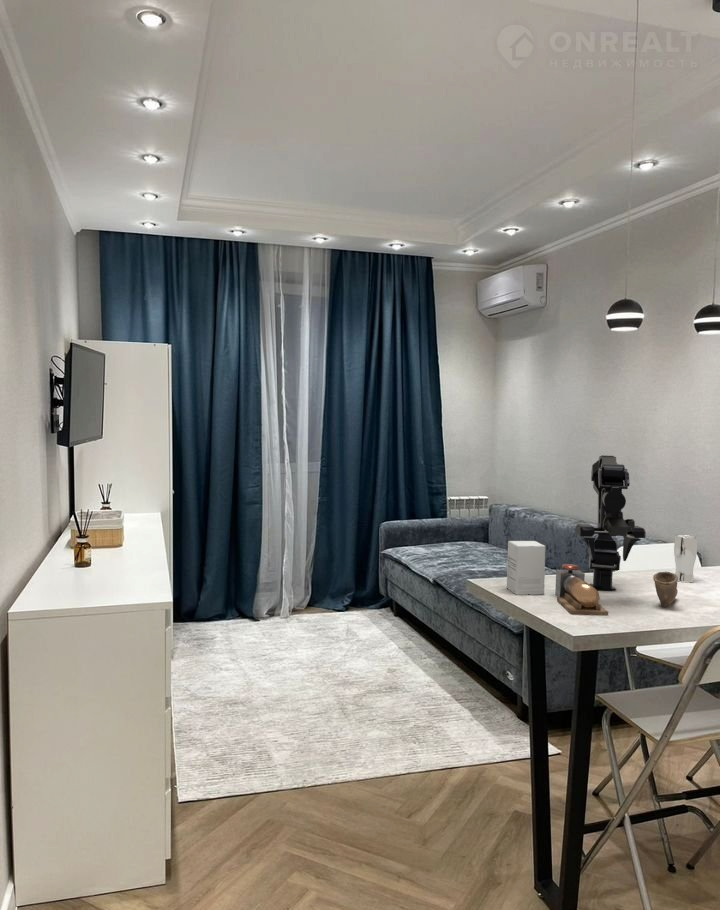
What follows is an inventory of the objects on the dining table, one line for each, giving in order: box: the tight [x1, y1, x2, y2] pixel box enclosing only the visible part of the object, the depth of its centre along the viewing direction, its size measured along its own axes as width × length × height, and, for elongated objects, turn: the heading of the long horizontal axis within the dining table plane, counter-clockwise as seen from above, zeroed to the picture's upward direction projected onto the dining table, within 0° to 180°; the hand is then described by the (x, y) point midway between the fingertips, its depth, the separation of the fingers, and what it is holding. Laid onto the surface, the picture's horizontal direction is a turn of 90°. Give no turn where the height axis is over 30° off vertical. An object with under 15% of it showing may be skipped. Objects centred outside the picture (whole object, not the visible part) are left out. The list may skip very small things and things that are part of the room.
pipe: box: [652, 571, 678, 608], centre depth 202 cm, size 6×17×10 cm, turn 146°
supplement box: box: [506, 540, 546, 596], centre depth 212 cm, size 9×9×15 cm
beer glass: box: [673, 534, 698, 584], centre depth 233 cm, size 7×7×15 cm
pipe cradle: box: [556, 593, 609, 616], centre depth 195 cm, size 14×10×3 cm
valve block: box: [554, 563, 586, 598], centre depth 206 cm, size 7×7×9 cm
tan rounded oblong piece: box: [566, 577, 600, 607], centre depth 195 cm, size 12×6×6 cm, turn 179°
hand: (608, 560), depth 203 cm, fingers open, 9 cm apart
